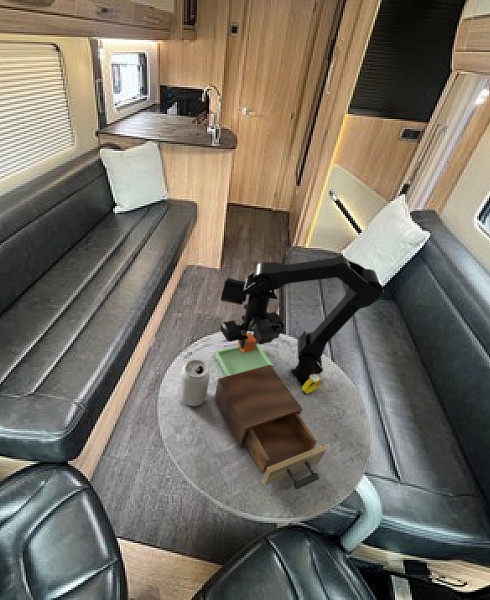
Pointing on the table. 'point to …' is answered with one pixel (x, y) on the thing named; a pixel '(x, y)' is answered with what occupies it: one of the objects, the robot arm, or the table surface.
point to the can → (194, 382)
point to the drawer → (284, 450)
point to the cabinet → (254, 400)
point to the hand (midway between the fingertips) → (247, 346)
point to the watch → (311, 379)
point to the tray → (241, 360)
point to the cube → (249, 343)
